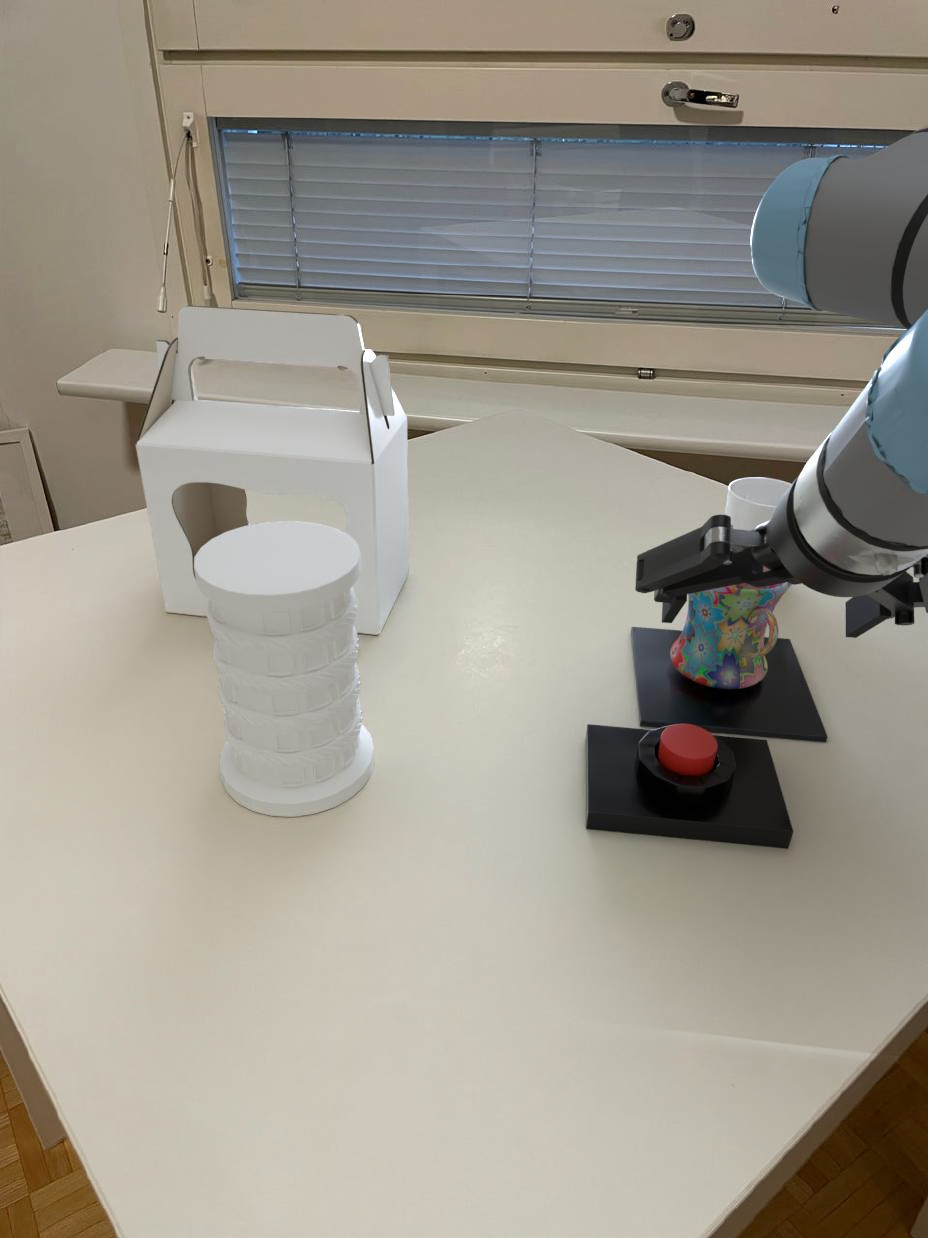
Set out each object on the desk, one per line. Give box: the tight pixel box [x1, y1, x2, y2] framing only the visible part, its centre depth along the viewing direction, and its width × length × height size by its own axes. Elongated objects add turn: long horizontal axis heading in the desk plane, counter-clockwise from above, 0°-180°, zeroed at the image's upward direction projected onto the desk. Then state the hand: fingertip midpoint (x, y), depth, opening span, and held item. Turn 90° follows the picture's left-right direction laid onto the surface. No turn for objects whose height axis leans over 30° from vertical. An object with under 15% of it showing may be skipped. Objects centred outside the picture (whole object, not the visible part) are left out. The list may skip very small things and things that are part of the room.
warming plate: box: [630, 626, 829, 743], centre depth 78 cm, size 15×15×1 cm
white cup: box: [724, 476, 792, 531], centre depth 93 cm, size 8×8×10 cm
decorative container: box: [194, 520, 375, 818], centre depth 62 cm, size 12×12×18 cm
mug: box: [670, 566, 793, 689], centre depth 75 cm, size 12×9×11 cm
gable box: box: [134, 304, 410, 636], centre depth 83 cm, size 22×13×28 cm, turn 81°
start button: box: [658, 724, 718, 776], centre depth 63 cm, size 4×4×2 cm
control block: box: [584, 723, 794, 850], centre depth 64 cm, size 14×10×4 cm
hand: (758, 613), depth 66 cm, fingers open, 13 cm apart
